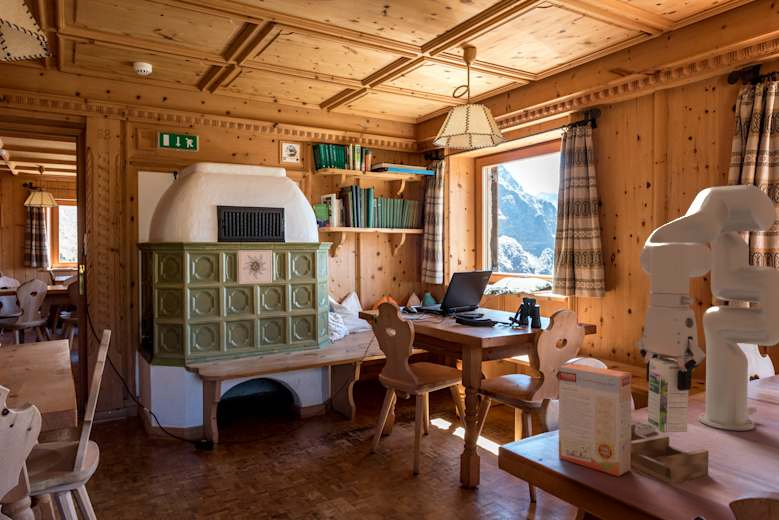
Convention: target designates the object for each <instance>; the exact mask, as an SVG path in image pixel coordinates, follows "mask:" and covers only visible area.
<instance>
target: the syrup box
mask: <svg viewBox="0 0 779 520" xmlns="http://www.w3.org/2000/svg"><path fill="white" fill-rule="evenodd" d="M685 364H686V362H685ZM678 371H681V369H680V367H679V364H678V362H677V359H676V358H670V357H659V358H651V359H650V366H649V382H648V398H647V399H648V408H647V409H648V410H647V424H648V425H651V426H653V427H654V428H656V429H655V430H658V431H659V432H660V433H662V434H663V433H664V434H665V433H686V432H688V418H689V416H688V414H689V412H688V411H689V390H683V391H680V390H678V389H677V382H678Z"/></svg>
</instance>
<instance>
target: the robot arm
mask: <svg viewBox="0 0 779 520" xmlns="http://www.w3.org/2000/svg"><path fill="white" fill-rule="evenodd" d="M686 211H687V212H686V213H685V214H684V215H683V216H681V217H679V218H678V217H677V218H676V219H674V220H672V221H670V222H668V223H666V224H663V225H662V226H660V227H658V228H657V229H655V230H654V231H653V232H652V233H651V234H650V236H649V237H648V238H647V240H646V241H645V243H644V245H643V246H642V247H643V248H642V249H641V251H640V256H639V264H640V266H641V267H640V268H641V269H642V271H643V272H644V273H646V274H647V275H649V306H647V309H646V313H645V318H644V325H643V336H641V337H640V338H639V339H638V340H637V341H636V342H635V345H636V347H637V349H638V351H639V353H640V355H641V356H642V358H643V362H644V363H645V364H646V382H647V383H649V366H650V359H651V358H660V356H666V357H669V358H670V357H672V358H675V360H677V362H678V364H679V367H680V369H681V371H678V382H677V389H678V390H680V391H683V390H688V391H690V390H691V389H692V373H693V371H695V369H696V368H697V367H698V366H699V365H700V363H701V362H702V361H703V360H704V359H706V361H705V362H706V363H705V365H706V366H705V367H706V369H705V412H702V413H701V414H699V415H698V420H699V421H700V422H701V423H703V424H704V425H706V426H708V427H712V428H717V429H720V430H725V431H726V430H728V431H738V432H740V431H741V432H742V431H750V430H753V429H755V423H754V421H752V419H749V416H751V415H755V414H757V411H758V410H757V408H756V407H754V406H750V407H749V406H748V383H749V382H748V380H749V379H748V375H749V361H748V357H747V355H746V354H745V352H744V350H743V349H742V348H741V347H740V345H739V344H747V345H754V346H756V345H757V346H763V347H767V346H768V347H770V346H772V347H773V346H775V345H777V344H779V270H778V269H776V268H775V267H774V266H773V267H772V266H766V265H759V266H758V265H750V262H749V260H750V247H749V244H748V243H747V242H746V240H745V239H744V238H743V237H742V236H741V234H740V233H738V232H763V231H767V230H769V229H771V228H772V227H773V225H774V223H775V220H776V215H777V213H776V207H775V204H774V202H773V200H772V199H771V198H770V197H769V196H768V195H767V193H766V192H764V190H763V189H761V188H759V186H755V185H753V184H737V185H725V186H724V185H721V186H712V187H708V188H705V189H702V190H701V191H700V192H699V193H698V194H697V195H696V196H695V198H694V200H693V201H692V203H691V205H690V206H689V208H688V210H686ZM707 243H709V244H710V247H708V245H706V244H707ZM708 273H710V291H711V294H712V296H713V297H714V298H715V299H718V300H721V301H727V302H728V301H729V302H743V303H756V304H758V305H759V307H745V306H737V305H734V306H733V305H715V306H711V307H709V308H708V309H706V310H705V312H704V313H703V317H702V325H703V333H704V338H705V349H706V351H705V352H706V353H705V352H704V351H703V350H702V349H701V347H699V340H698V327H697V322H696V320H697V319H696V315H695V311H694V309H692V308H691V309H690V305H691V306H692V305H694V302H695V301H694V298H692V297H690V295H691V294H690V293H691V291H690V289H691V286H690V285H691V278H699V277H704V276H705V275H707V274H708ZM685 363H686V364H685Z"/></svg>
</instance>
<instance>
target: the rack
mask: <svg viewBox="0 0 779 520" xmlns="http://www.w3.org/2000/svg"><path fill="white" fill-rule="evenodd" d="M635 431H636V427H635V424H633V423H631V468H632V467H633V468H635V469H637V470H639V471H642V472H644V473H645V474H648V475H650V476H652V477H655V478H657V479H659V480H661V481H662V482H663V481H664V482H665V483H668V484H670V485H671V484H676V483H679V482H684V481H688V480H692V478H693V479H696V477H697V478H701V477H705V476H709V450H707V449H704V448H702V449H695V450H691V451H684V450H682V449H679V448H677V447H674V446H672V445H670V436H668V435H666V434H661V435H658V436H651V437H648V436H646V435H645V436H643V435H640V434H638V433H635Z"/></svg>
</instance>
